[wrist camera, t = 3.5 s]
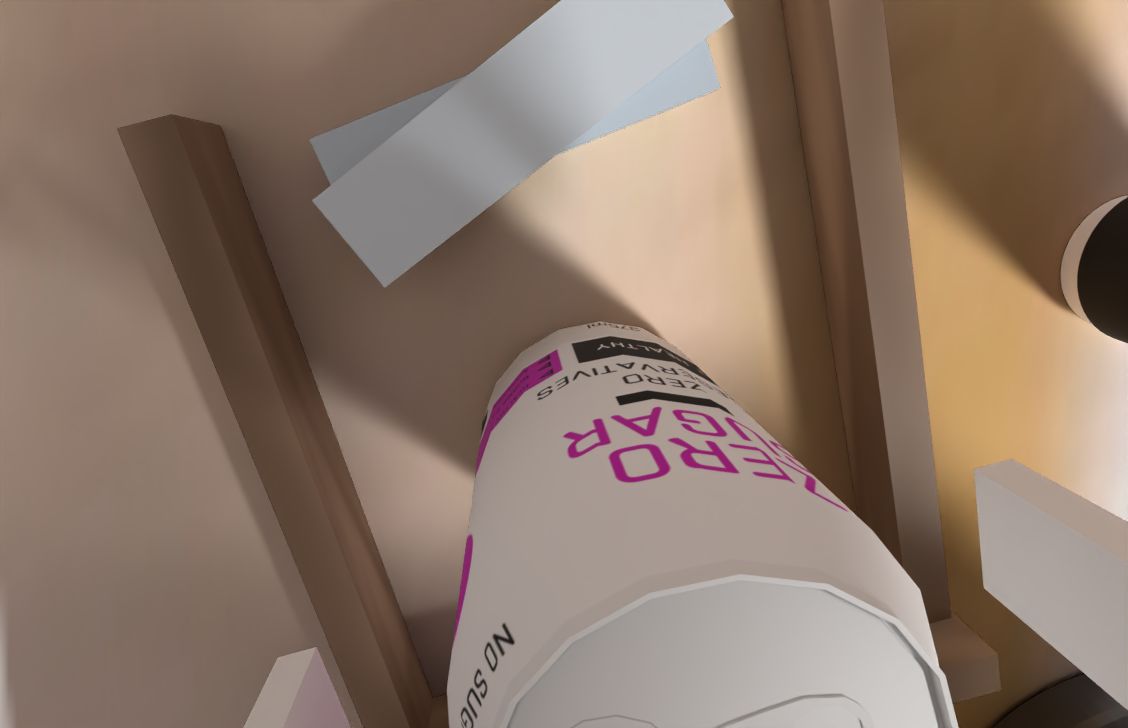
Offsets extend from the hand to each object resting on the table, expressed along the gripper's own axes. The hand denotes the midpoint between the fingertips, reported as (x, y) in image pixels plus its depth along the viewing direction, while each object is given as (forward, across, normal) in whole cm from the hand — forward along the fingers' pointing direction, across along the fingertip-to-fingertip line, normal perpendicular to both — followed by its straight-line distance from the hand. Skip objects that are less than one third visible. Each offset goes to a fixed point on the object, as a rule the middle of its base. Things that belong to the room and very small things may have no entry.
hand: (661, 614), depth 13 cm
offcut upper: (+10, 0, -10) cm, 14 cm away
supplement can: (+12, 0, 0) cm, 12 cm away
